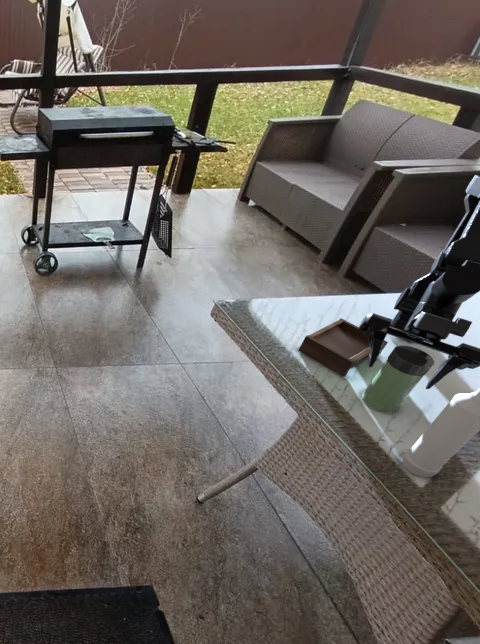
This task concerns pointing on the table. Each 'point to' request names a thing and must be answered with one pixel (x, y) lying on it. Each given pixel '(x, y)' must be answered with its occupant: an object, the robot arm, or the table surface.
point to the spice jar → (397, 378)
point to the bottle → (445, 435)
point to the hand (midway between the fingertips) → (398, 377)
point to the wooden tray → (338, 346)
